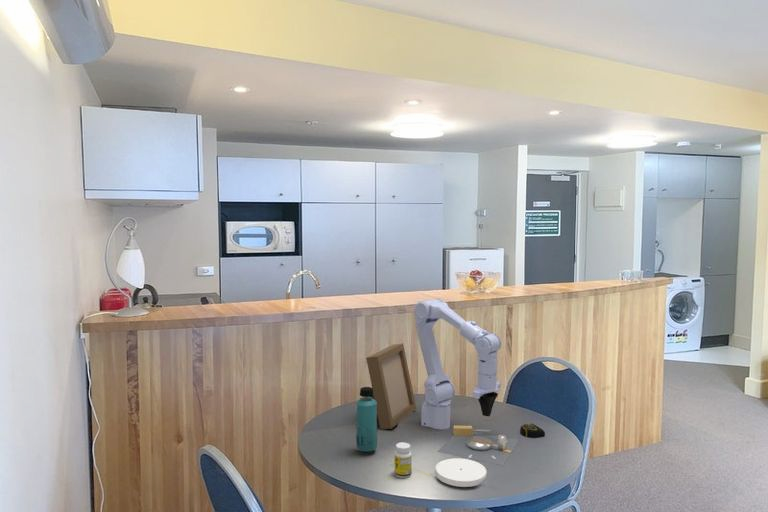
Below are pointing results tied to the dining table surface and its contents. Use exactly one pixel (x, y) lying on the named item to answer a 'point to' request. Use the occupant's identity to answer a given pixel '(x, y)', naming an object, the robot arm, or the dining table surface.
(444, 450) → the panel
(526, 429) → the tape measure
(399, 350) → the photo frame
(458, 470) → the plastic lid
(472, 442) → the silver rounded piece
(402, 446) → the supplement bottle
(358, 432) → the beverage bottle
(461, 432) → the screwdriver
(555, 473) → the dining table surface
